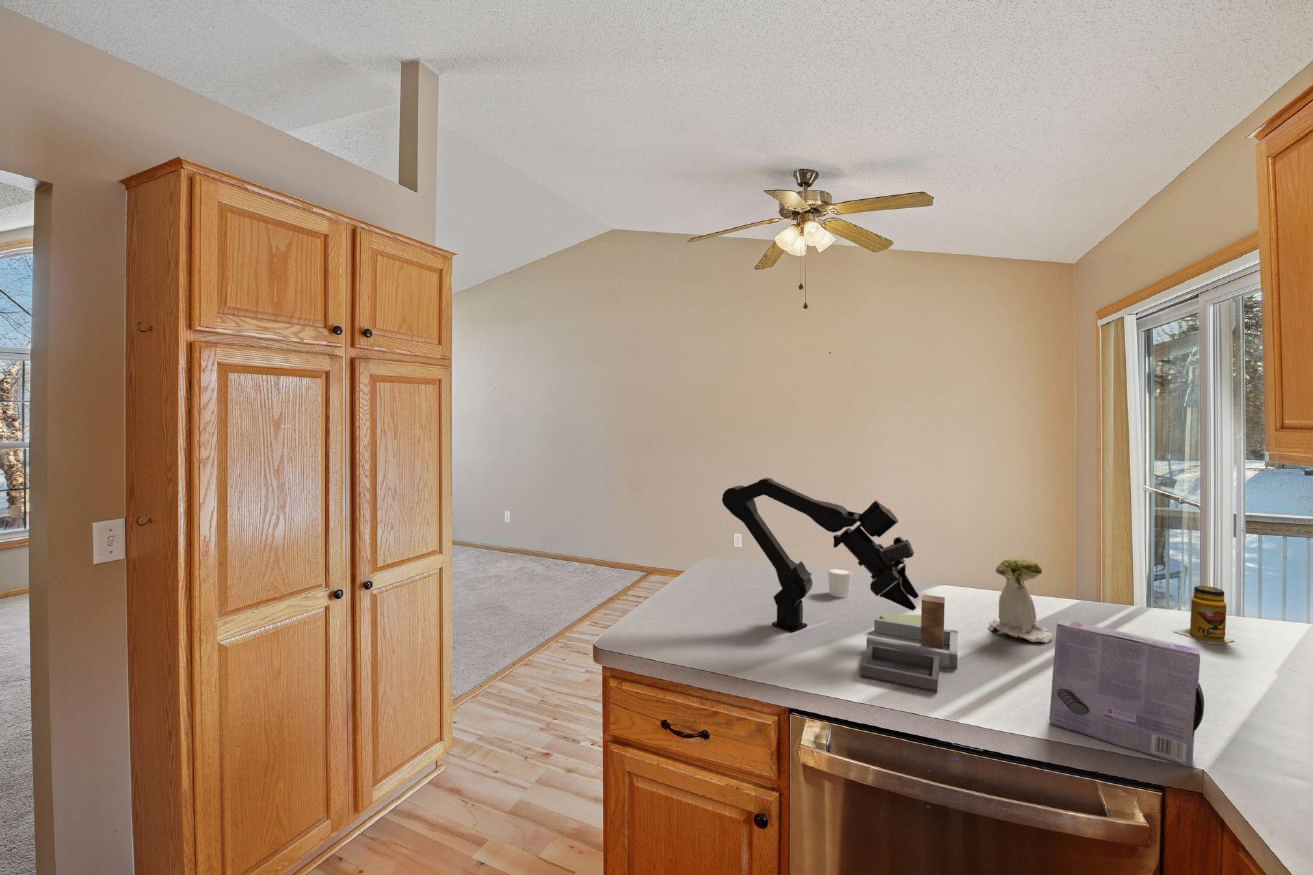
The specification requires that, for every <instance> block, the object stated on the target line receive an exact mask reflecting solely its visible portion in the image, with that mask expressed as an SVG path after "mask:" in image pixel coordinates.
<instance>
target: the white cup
mask: <svg viewBox="0 0 1313 875" xmlns="http://www.w3.org/2000/svg"><path fill="white" fill-rule="evenodd" d="M852 576H853V572H852V571H851V570H849V569H845V568H836V567H835V568H829V569H828V570H827V579H828V591H829V592H828V593H830V594H829V595H830V596H831V595H833V596H832V597H834V596H835V598H841V599H843V598H844V599H845V598H849V597H850V593H851V586H852Z"/></svg>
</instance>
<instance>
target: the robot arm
mask: <svg viewBox="0 0 1313 875" xmlns="http://www.w3.org/2000/svg"><path fill="white" fill-rule="evenodd" d="M762 496H767V497H768V498H770V499H773V500H774V501H775V502H776V501H777V502H779V503H781V504H783V505H785V506H787V507H789V508H791V509H794V510H796V511H798V512H800V513H802V514H804V515H806V516H808V517H809V518H810V519H811V520H812V521H813V522H814V523H815V524H817V525H818V526H820V527H821V528H823V529H824V530H825V531H827V532H829V533H839V532H841V531H842V530H843V529H844V528H846V529H845V530H844V531H842V532H841V533H840V534H834V535H833V537H832V538H833V548H835V549H836V548H837V547H839V546H840V545H842V544H843V546H844V547H845V548H846V549H847V550H848V551H849V552H850V553H851V555H852V556H854V558H855V559H856V560H857V561H858V562H857V564H858V565H859V566H860V567H861V566H863V567H864V568H865V570H867V572H868V573H870V578H871V582H870V591H871V592H872V593H873V594H874V595H875V596H876V597H879V598H884V599H886V600H888V601H891V602H893V603H895V604H898V605H900V606H901V607H904V608H905V609H907V610H910V611H912V612H913V611H915V610H916V609H917V607H916V605H915V603H914V602H913V601H912V599H911V598H910V597H912V598H913V599H917V598H918V597H919V594H918V592H917V590H916V588H915V587H914V585H913V584H912V582H911V580H910V579H909V577H908V575H907V573H906V572H907V563H905V562H906V559H910V558H912V557H914V553H915V552H914V550H913V547H912V545H911V542H910V541H909V539H903V537H901V536H898V537H894V538H893V541H892V542H893V544H890V545H889V546H884V545H883V544H881V543H876V542H875V541H874V539H872V538H875V537H877V538H881V537H883V535H884V534H886V533H887V532H888V531H890V529H892V528H893V527H895V525H896V524H897V523H899V519H898V518H897V516H896V515H895V514H894V513H893V511H891V509H889V508H887V507H886V506H885V505H884V504H882V503H880V502H879V501H878V500H874V501H873V502H872V503H870V505H869V506H868V507H867V509H865V510H864V511H863V512H862V513H861V512H854V511H850V510H848V509H847V508H846V507H844V506H842V505H839V504H837V503H832V502H828V501H822V500H817V499H815V498H813V497H810V496H808V495H806V494H803V493H802V492H799V491H797V490H795V489H792V488H791V487H788V486H786V485H783V484H781V483H779V482H778V481H775V480H774V479H773V478H770V477H764V478H761V479H759V480H758V481H756V482H754V483H750V484H748V485H746V486H745V485H735V486H732V487H729V488H727V489H726V490H725V491H724V492H723V493H722V499H721V501H722V502H721V503H722V505H723V506H724V507H725V509H727V510H728V511H729V512H730V513H731V515H733V516H734V517H735V518H737V520H739V521H741V522H742V523H743V524H744V526H745V527H746V529H747V530H748V531H749V533H750V534H751V536H752V538H753V539H754V540H755V542H756V543H757V544H758V546H759V547H760V549H761V550H762V552H763V553H764V555H765V556H766V558H767V559H768V561H769V563H771V565H772V566H773V568H774V569H775V572H776V576H777V579H778V580H777V581H778V583H779V584H780V587H781V589H780V590H779V591H777V592H776V594H775V595H774V596H773V600H774V603H775V605H776V620H775V621H773V622H771V626H774V627H777V628H779V629H782V630H785V631H788V632H791V633H792V632H797V631H798V630H801V629H803V628H807V627H808V623H806V622H803V620H804V618H803V614H804V607H803V599H804V598H805V597H807V594H808V593H809V592H810V591H811V589H812V588H813V579H812V577H811V576H812V573H811V572H809V571H808V569H807V567H806V565H805V564H804V563H803V561H801V560H800V561H799V562H798V563H796V562H795V561H793V560H792V559H791V557H790V556H789V555H788V553H787V552H786V550H785V549H784V548H783V546H782V545H781V544H780V542H779V541H778V539H777V538H776V536H775V535H774V534H773V532H772V531H771V529H770V528H769V526H768V525H767V523H766V522H765V521H764V519H763V518H762V516H761V515H760V514H759V512H758V507H757V504H756V503H757V502H756V501H755V499H756V498H758V497H762ZM858 523H859V524H858ZM856 524H858V525H856ZM854 525H856V526H855V527H854V528H853V529H852V528H850V527H853V526H854ZM871 537H872V538H871ZM900 565H901V566H900Z"/></svg>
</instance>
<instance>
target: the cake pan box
mask: <svg viewBox="0 0 1313 875" xmlns="http://www.w3.org/2000/svg"><path fill="white" fill-rule="evenodd" d="M1054 642H1055V645H1054V655H1053V666H1052V680H1051V682H1052V683H1051V694H1050V707H1049V718H1048V719H1049V722H1050V723H1049V724H1050V725H1052V726H1056V727H1061V728H1064V729H1065V730H1068V731H1069V730H1070V731H1072V732H1075V733H1079V734H1082V735H1085V736H1089V737H1092V738H1095V739H1098V740H1100V741H1103V742H1106V743H1109V744H1112V745H1115V746H1119V747H1121V748H1124V749H1129V750H1131V751H1132V750H1133V751H1138V752H1141V753H1144V754H1148V755H1150V756H1154V757H1158V758H1161V759H1164V760H1167V761H1171V762H1174V763H1176V764H1180V765H1182V766H1185V767H1188V768H1192V766H1193V762H1194V750H1195V749H1194V746H1195V744H1194V743H1195V732H1196V731H1197V729H1198V728H1199V727H1200V725H1201V724H1202V721H1203V717H1204V712H1205V699H1204V698H1205V697H1204V694H1203V690H1202V687H1201V685H1200V683H1199V680H1200V669H1201V668H1200V667H1201V654H1200V650H1199V648H1197V647H1194V646H1188V645H1183V644H1179V643H1173V642H1169V641H1165V640H1160V639H1155V638H1151V637H1147V636H1143V635H1138V634H1133V633H1129V632H1126V631H1120V630H1116V629H1112V628H1106V627H1102V626H1101V627H1100V626H1095V625H1093V624H1086V623H1082V622H1079V621H1074V620H1069V619H1066V618H1065V619H1064V618H1060V619H1059V620H1058V622H1057V623H1056V631H1055V641H1054Z"/></svg>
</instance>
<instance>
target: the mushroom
mask: <svg viewBox="0 0 1313 875" xmlns="http://www.w3.org/2000/svg"><path fill="white" fill-rule="evenodd" d="M1042 570H1043V569H1042V568H1041V566H1040V565H1039V564H1038V563H1037V562H1034V561H1032V560H1030V559H1026V558H1023V557H1022V558H1021V557H1020V558H1019V557H1018V558H1006V559H1003V561H1001V562H1000V563H999V564H998V566H996V569H995V572H996V574H997V575H999V576H1002V577H1004V579H1006V582H1005V585H1004V587H1003V588H1002V590H1001V593H1000V594H999V595H998V596H999V599H998V600H999V601H998V620H997V619H996V620H995V619H993V621H989V624H988V625H989V626H988V628H990V629H989V631H990V630H991V631H994V629H996V630H998V631H1001V632H1004V633H1006V634H1008V635H1010V636H1011V637H1012V638H1013V637H1015V638H1018V637H1019V638H1018V639H1026V640H1028V641H1029V642H1032V643H1034V642H1037V643H1038V642H1041V643H1046V644H1047V643H1048V642H1049V643H1050V641H1051V640H1052V639H1053V634H1052V633H1051V632H1050V629H1047V628H1045V627H1042V626H1040V627H1039V626H1038V625H1037V624H1036V623H1037V614H1036V608H1035V604H1034V600H1033V598H1032V596H1031V594H1030V592H1029V591H1028V589H1027V587H1026V586H1025V582H1027V581H1028V582H1029V581H1030V580H1033V579H1035V578H1037V577H1039V576H1040V575H1041V574H1042V573H1043V571H1042Z"/></svg>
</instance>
